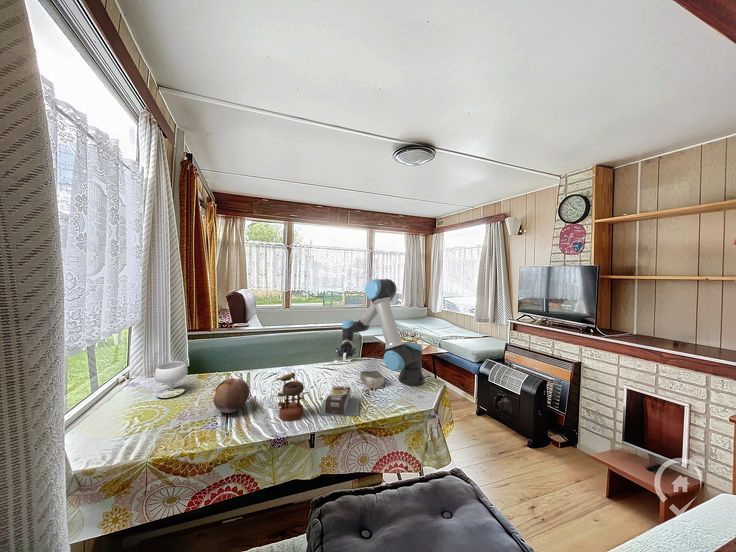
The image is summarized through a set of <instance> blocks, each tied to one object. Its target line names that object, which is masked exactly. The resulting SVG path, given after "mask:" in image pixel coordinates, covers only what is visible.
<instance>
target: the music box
mask: <svg viewBox="0 0 736 552" xmlns="http://www.w3.org/2000/svg"><path fill="white" fill-rule="evenodd" d="M292 379H293V380H292ZM290 380H292V381H290ZM275 381H276V382H277V381H280V384H282V382H284V383H283V386H282V389H280V391H279V392H280V393H277V397H279V402H278V407H279V410H278V411H279V412H278V413H279V415H278V416H279V419H280V420H281V421H284V422H294V421H298V420H299V419H301V418H302V417H303V416H304V405H303V404H301V403H300V401H301V400H302V399H303V400H305V396H304V395H305V394H310V392H309V391H306V392H304V389H305V387H304V386H305V385H304V384H303V383H302V382H301V381H297V380H296V374H295V372H290V374H289V373H288V374H287V373H286V374H285V375H282V376H281V377H277V378H276V379H275ZM301 393H302V397H301V396H300V394H301ZM295 396H296V397H297V398H296V397H295ZM282 397H286V398H284V402H282ZM289 397H291V399H290V398H289ZM296 400H297V401H296ZM290 401H291V402H290Z"/></svg>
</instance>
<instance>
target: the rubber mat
mask: <svg viewBox="0 0 736 552" xmlns="http://www.w3.org/2000/svg"><path fill="white" fill-rule="evenodd" d="M325 406H326V399H323V400H322V404H321V407H320V411H319V413H318V415H319V416H334V417H335V416H337V417H339V416H341V417H342V416H343V417H345V416H346V417H348V416H349V417H359V414H360V413H359V412H360V400H356V399H355V400H353V399H351V400H350V399H349V402H348V405H347V408H346V410H345V413H344V415H343V414H332V413H325Z"/></svg>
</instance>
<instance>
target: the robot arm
mask: <svg viewBox="0 0 736 552" xmlns="http://www.w3.org/2000/svg"><path fill="white" fill-rule="evenodd" d="M397 291H398V290H397V285H396V283H395V282H394V281H393V280H392V279H389V278H384V279H383V278H381V279H380V278H379V279H378V278H375V279H370V280H368V281H367V283H366V286H365V287H364V295H365V296H366V298H367V299H369V300H370V301H371V304H370V305H369V307H368V308H367V309H366V311H365V312H364V313H363V315H361V317H360V318H359V319H358V320H357V321H354V320H353V319H344V320H343V321H342V326H341V328H342V330H341V331H342V335H341V336H342V337H341V338H342V339H341V341H342V342H341V344H340V347H339V348H338V347H336V348H335V353H336V354H337V355H338V358H341V359H342V361H343V362H346V360H347V359H348V358H351V357H353V356H354V355H355V353H357V348H356V347H354V344H355V342H354V334H356V333H359V332H360V333H362V332H366V331H368V330H369V329H370V326H371V325H370V324H371V323H372V322H373V321H374V319H375V318H376V316H378V320H379V323H380V327H381V330H382V334H383V338H384V341H385V344H386V346H385V348H384V350H385V353H384V355H383V362H384V365H385V366H386V368H387V369H388V370H390V371H392V372H399V371H400V373H399V374H398V381H399V383H401V384H403V385H405V386H411V387H418V386H422V385H424V383H425V377H424V373H423V370H422V363H423V362H422V360H423V345H421V344H420V343H417V342H411V341H404V342H403V341H402V340H401V337H400V334H399V330H398V327H397V324H396V321H395V317H394V314H393V311H392V310H393V309H392V308H391V304H390V302H391V301H392V300H393V299H394V297H395V295H396V293H397ZM353 347H354V348H353Z"/></svg>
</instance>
